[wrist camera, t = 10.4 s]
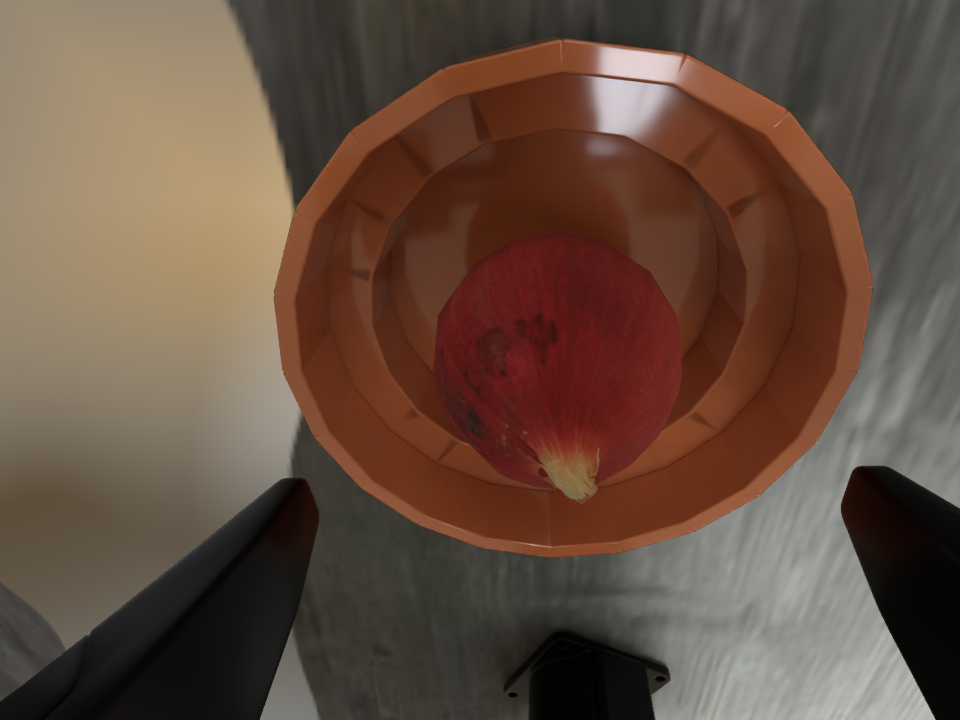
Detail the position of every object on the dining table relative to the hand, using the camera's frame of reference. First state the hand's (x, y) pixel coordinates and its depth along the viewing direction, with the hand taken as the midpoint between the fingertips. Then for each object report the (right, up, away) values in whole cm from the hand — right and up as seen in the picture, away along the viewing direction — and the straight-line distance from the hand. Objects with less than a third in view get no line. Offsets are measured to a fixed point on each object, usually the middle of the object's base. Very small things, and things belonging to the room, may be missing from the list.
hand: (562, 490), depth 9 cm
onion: (+1, +4, +7) cm, 8 cm away
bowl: (+1, +5, +8) cm, 9 cm away
